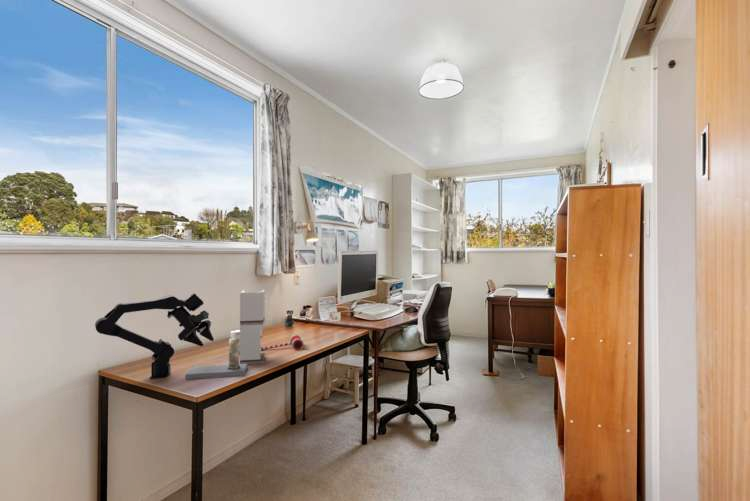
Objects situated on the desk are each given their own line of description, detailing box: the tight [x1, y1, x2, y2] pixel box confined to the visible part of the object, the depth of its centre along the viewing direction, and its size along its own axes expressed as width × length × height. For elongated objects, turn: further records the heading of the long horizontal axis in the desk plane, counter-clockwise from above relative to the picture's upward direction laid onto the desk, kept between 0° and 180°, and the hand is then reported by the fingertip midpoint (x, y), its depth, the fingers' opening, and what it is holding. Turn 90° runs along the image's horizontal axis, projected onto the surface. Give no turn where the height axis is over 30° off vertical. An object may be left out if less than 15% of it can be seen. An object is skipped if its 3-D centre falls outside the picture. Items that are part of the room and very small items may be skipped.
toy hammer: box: [261, 334, 304, 352], centre depth 209 cm, size 23×12×6 cm, turn 109°
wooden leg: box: [228, 338, 240, 370], centre depth 168 cm, size 4×4×15 cm
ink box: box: [230, 329, 240, 354], centre depth 202 cm, size 9×5×12 cm, turn 138°
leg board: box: [184, 363, 248, 380], centre depth 167 cm, size 24×11×2 cm, turn 101°
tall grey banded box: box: [239, 289, 266, 365], centre depth 186 cm, size 11×11×35 cm
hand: (208, 343), depth 168 cm, fingers open, 9 cm apart
